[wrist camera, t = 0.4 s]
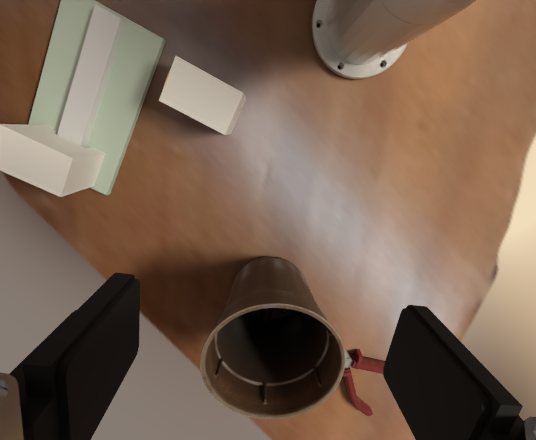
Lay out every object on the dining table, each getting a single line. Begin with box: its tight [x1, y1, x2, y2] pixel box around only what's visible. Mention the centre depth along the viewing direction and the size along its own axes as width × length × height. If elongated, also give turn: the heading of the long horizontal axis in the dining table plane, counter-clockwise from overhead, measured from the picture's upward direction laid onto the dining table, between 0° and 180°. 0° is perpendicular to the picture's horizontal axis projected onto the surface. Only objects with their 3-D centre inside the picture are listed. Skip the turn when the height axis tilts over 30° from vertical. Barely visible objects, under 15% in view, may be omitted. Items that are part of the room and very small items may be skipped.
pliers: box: [342, 348, 385, 416], centre depth 52 cm, size 12×20×3 cm, turn 45°
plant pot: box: [200, 257, 346, 419], centre depth 40 cm, size 16×16×16 cm
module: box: [159, 56, 246, 135], centre depth 35 cm, size 5×9×7 cm, turn 63°
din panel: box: [0, 0, 166, 197], centre depth 34 cm, size 22×12×8 cm, turn 153°
